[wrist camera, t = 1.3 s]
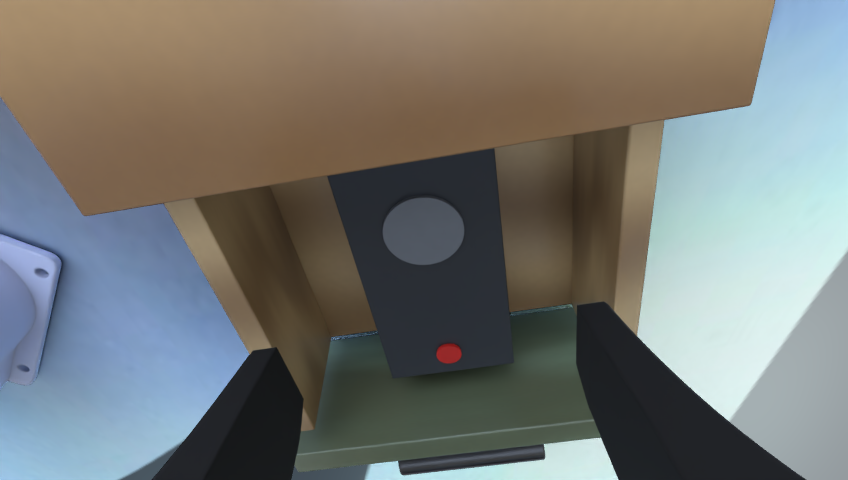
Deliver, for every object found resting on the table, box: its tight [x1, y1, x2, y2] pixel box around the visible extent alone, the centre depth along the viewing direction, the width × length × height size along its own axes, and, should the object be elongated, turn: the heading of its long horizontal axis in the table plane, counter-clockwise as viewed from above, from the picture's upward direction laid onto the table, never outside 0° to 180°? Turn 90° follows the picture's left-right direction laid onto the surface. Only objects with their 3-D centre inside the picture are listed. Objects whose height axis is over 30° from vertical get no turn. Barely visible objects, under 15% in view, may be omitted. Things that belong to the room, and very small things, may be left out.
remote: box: [327, 148, 514, 378], centre depth 16 cm, size 9×5×3 cm, turn 10°
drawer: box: [164, 120, 664, 475], centre depth 17 cm, size 18×13×6 cm
